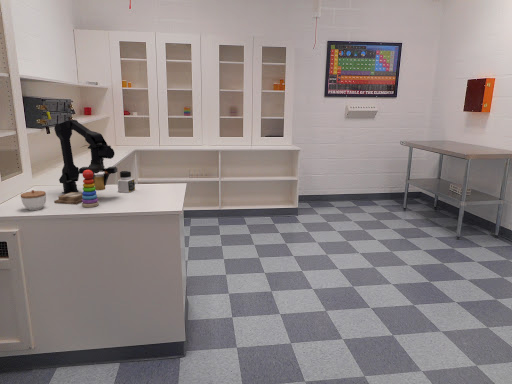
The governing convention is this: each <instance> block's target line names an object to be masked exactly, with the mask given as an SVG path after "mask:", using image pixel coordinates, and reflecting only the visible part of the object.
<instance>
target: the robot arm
mask: <svg viewBox="0 0 512 384" xmlns="http://www.w3.org/2000/svg"><path fill="white" fill-rule="evenodd" d="M53 129H54V133H55V136H56V137H57V138H58V139H59V141H60V148H61V154H62V160H63V167H62V170H61V176H60V177H59V179H58V181H59V183H60V184H62V189H63V191H61V194H67V193H70V192H79V190H78V184H77V182H78V181H79V178H80V174H81V175H82V174H83V172H84V171H85V170H91V171H92V172H93V174H94V175H93V178H92V179H93V180H94V176H95V175H96V174H99V173H101V172H103V173H102V174H103V176H104V186H105V187H106V186H107V182H108V179H109V177H110V176H111V175H112V174H115V173H118V168H117V166H108V167H107V168H106V167H105V165H104V164H105V163H104V161H105V159H111V160H112V159H113V158H114V157H115V151H114V149H113V148H112V146H111V145H108V143H107V142H106V140H105V138H104V136H103V135H102V134H101V133H99V132H98V131H92V130H90V129H89V128H87V127H86V126H84V125H83V124H82V123H80V122H79V121H78V120H77V119H67V120H66V121H64V122H59V123H56V124H54V127H53ZM73 131H75V132H76V133H77V134H79V135H80V136H82V137H83V138H84V140H85V142H86V143H87V144H88V146H87V149H89V150H90V157H91V159H90V164H89V165H88V166H82V167H80V168H79V167H78V166H76V165H75V163H74V157H73V151H72V145H71V138H72V135H73ZM93 183H94V182H93ZM94 184H95V183H94Z"/></svg>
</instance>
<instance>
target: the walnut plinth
mask: <svg viewBox="0 0 512 384" xmlns="http://www.w3.org/2000/svg"><path fill="white" fill-rule="evenodd" d="M82 196H83V194H82V192H79V191H78V192H70V193H67V194H66V193H63V194H62V195H58V199H55V200H54V201H53V202H54V204H61V205H62V204H65V205H79V204H82V203H83V202H82V199H83V198H82Z"/></svg>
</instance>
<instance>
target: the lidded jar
mask: <svg viewBox="0 0 512 384" xmlns="http://www.w3.org/2000/svg"><path fill="white" fill-rule="evenodd" d="M46 195H47V193H46V191H43V190H34V189H31V190H30V191H26V192H23V193H21V194H20V199H21V203H22V205H23V206H24V207H25V208H26V209H27V210H29V211H38V210H41V209H43V207H44V206H45V205H46V203H47V196H46Z"/></svg>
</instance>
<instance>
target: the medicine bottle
mask: <svg viewBox="0 0 512 384" xmlns="http://www.w3.org/2000/svg"><path fill="white" fill-rule="evenodd" d="M119 178H120V179H118V180H116V181H117V182H116V183H117V191H118V193H128V194H129V193H131V192H134V191H135V190H136V183H135V178H132V171H130V170H123V171H122V170H121V171H120V172H119Z"/></svg>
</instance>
